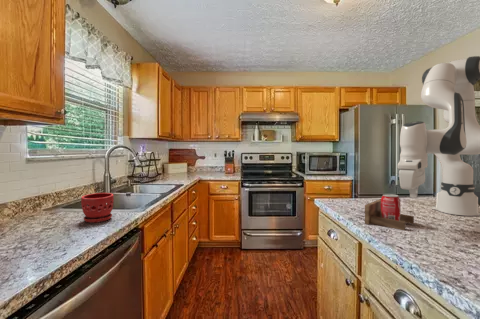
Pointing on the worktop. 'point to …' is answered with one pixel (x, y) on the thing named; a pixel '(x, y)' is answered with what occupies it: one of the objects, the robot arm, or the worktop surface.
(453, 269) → the worktop surface
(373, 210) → the bay
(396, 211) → the soda can
